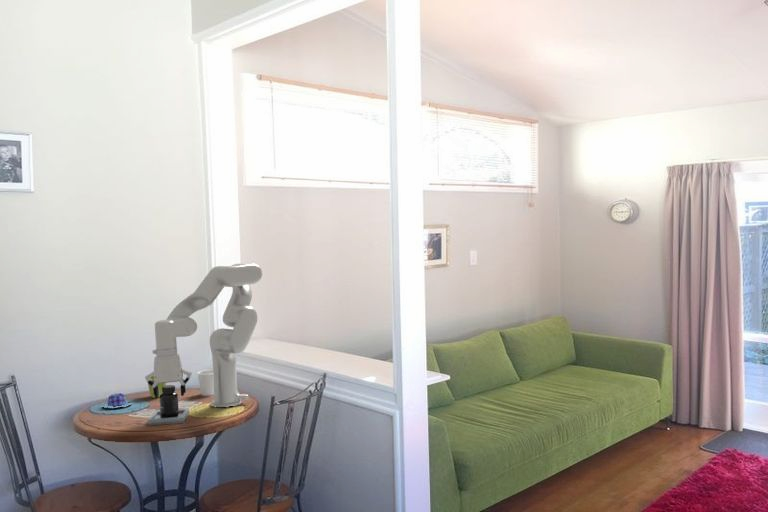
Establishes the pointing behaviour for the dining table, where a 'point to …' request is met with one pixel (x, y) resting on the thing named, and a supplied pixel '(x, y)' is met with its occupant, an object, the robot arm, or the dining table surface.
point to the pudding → (116, 400)
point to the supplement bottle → (169, 402)
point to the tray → (157, 420)
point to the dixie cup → (206, 382)
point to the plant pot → (158, 388)
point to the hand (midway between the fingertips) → (169, 396)
